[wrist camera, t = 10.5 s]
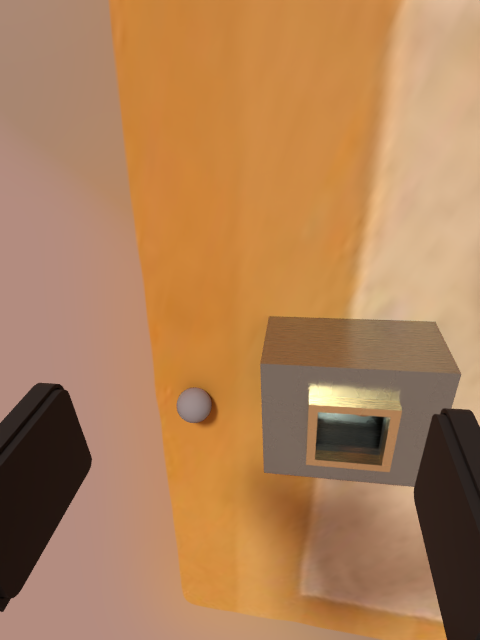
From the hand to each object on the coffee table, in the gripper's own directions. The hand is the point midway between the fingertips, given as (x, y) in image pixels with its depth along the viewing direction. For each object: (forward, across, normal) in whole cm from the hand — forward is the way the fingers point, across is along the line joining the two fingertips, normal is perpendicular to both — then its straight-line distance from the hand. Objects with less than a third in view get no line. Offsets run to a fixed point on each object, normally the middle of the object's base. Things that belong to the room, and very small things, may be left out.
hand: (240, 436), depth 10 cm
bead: (+24, +11, +24) cm, 36 cm away
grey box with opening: (+28, -6, +20) cm, 35 cm away
